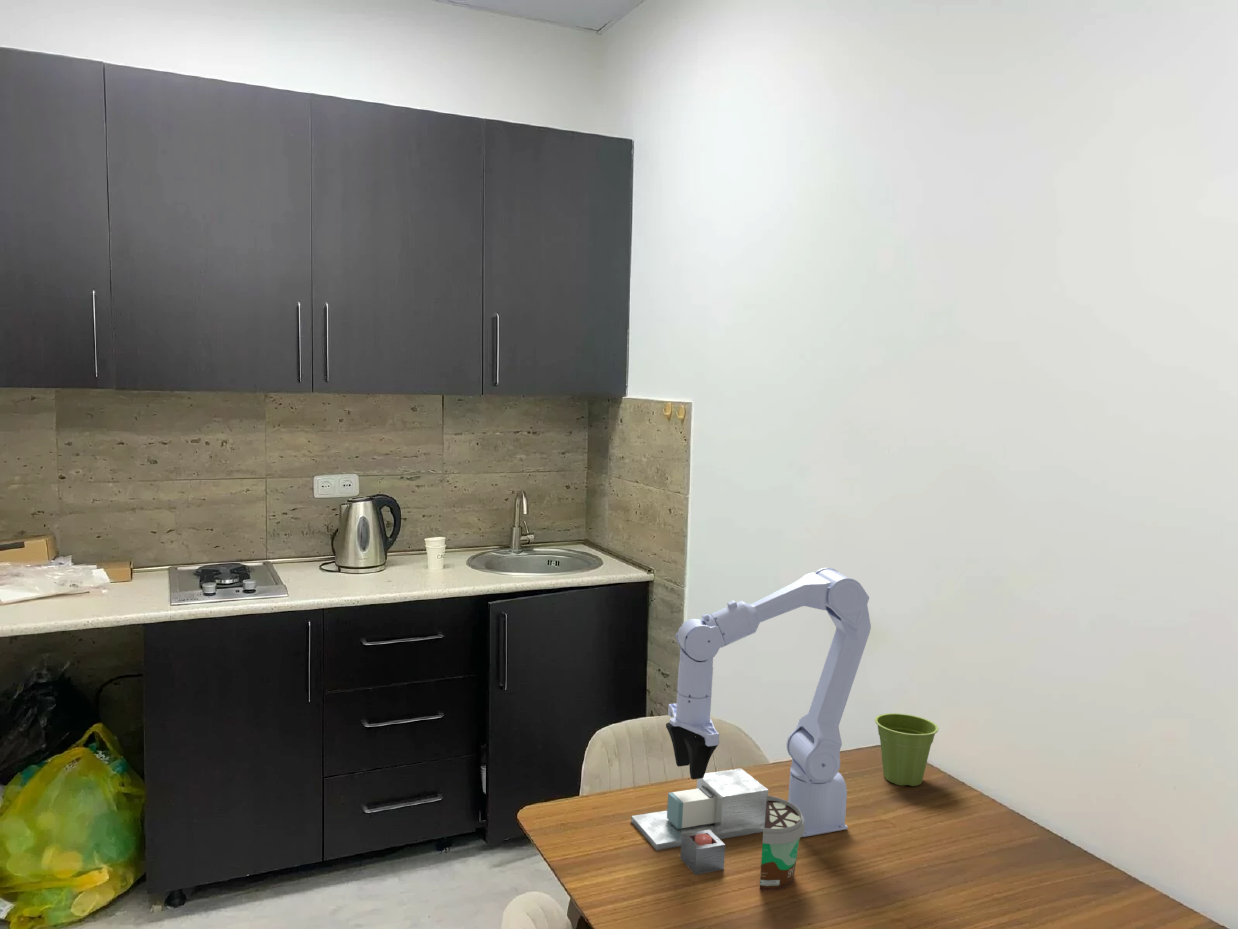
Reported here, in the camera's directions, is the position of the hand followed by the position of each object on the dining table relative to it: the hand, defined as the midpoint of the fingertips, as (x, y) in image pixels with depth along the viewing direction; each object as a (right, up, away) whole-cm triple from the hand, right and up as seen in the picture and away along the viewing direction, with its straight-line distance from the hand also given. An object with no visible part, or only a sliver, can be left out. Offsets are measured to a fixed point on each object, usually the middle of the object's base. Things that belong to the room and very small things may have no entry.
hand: (689, 771), depth 151 cm
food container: (+13, -12, -13) cm, 22 cm away
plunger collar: (+1, -11, -10) cm, 15 cm away
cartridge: (+3, -9, +2) cm, 10 cm away
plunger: (+1, -11, -10) cm, 15 cm away
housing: (+2, -10, +2) cm, 10 cm away
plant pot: (+43, -10, +25) cm, 51 cm away
